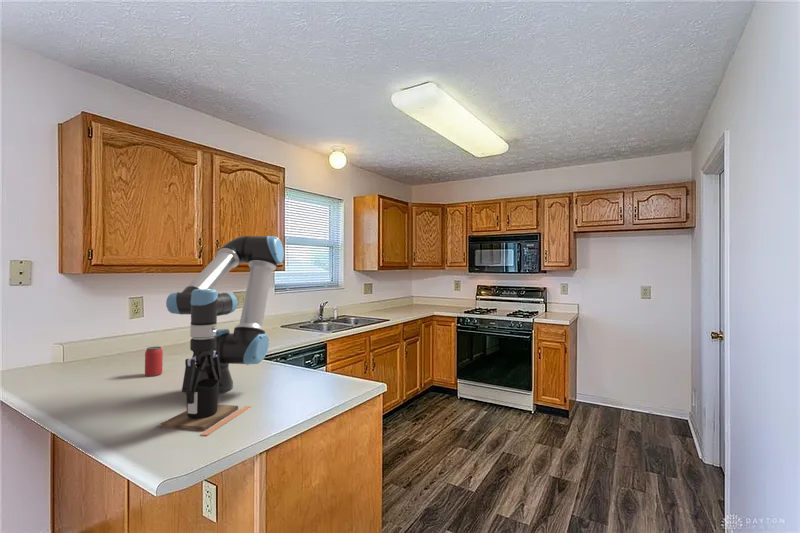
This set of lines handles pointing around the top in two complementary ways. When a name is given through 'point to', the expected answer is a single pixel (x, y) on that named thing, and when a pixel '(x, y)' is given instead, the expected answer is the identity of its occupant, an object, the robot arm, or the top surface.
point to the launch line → (224, 421)
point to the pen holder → (206, 398)
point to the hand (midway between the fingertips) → (202, 407)
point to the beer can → (153, 361)
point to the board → (202, 423)
